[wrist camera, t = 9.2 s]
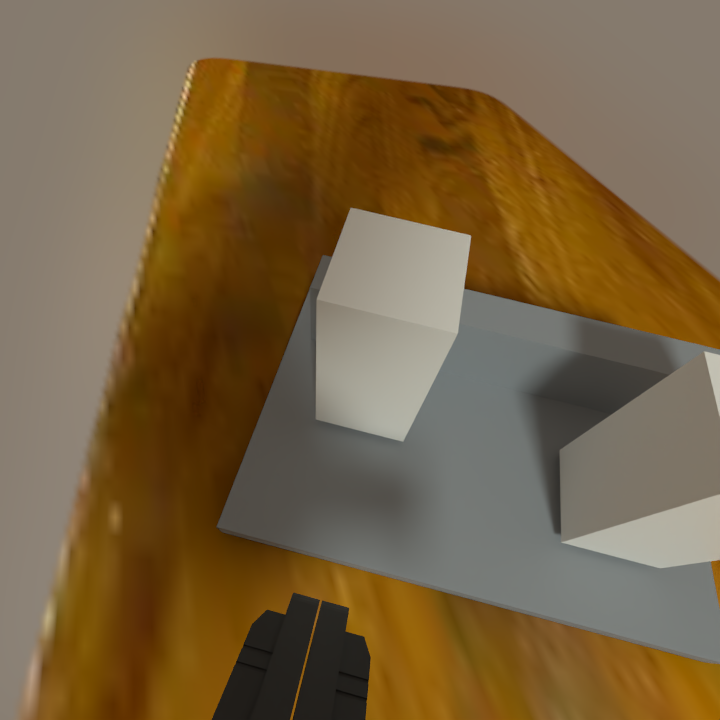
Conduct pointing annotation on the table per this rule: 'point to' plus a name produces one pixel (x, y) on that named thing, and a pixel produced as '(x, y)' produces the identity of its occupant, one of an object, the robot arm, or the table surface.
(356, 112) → the table surface
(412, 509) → the plate
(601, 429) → the white rectangular block
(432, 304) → the tall white pillar block
